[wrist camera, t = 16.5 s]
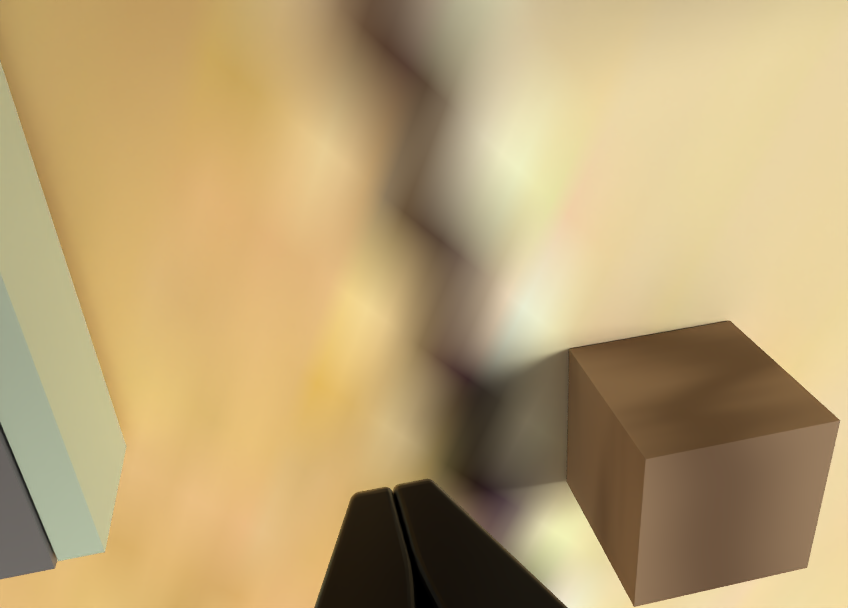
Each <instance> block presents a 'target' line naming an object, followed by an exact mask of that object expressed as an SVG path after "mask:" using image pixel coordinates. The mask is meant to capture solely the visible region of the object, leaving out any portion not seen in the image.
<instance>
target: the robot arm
mask: <svg viewBox="0 0 848 608" xmlns="http://www.w3.org/2000/svg"><path fill="white" fill-rule="evenodd" d="M314 608H567V607H566V606H565V605H564V604H563V603H562V602H561V601H560V600H559V599H558V598H557V597H556V596H555V595H554V594H553V593H552V592H551V591H549V590H548V589H547V588H546V587H545V586H544V585H543V584H542V583H541V582H540V581H539V580H538V579H537V578H536V577H535V576H534V575H532V574H531V573H530V572H529V571H528V570H527V569H526V568H525V567H524V566H523V565H522V564H521V563H520V562H519V561H518V560H517V559H516V558H514V557H513V556H512V555H511V554H510V553H509V552H508V551H507V550H506V549H505V548H504V547H503V546H502V545H501V544H500V543H499V542H497V541H496V540H495V539H494V538H493V537H492V536H491V535H490V534H489V533H488V532H487V531H486V530H485V529H484V528H483V527H482V526H481V525H479V524H478V523H477V522H476V521H475V520H474V519H473V518H472V517H471V516H470V515H469V514H468V513H467V512H466V511H465V510H464V509H462V508H461V507H460V506H459V505H458V504H457V503H456V502H455V501H454V500H453V499H452V498H451V497H450V496H449V495H448V494H447V493H446V492H444V491H443V490H442V489H441V488H440V487H439V486H438V485H437V484H436V483H435V482H434V481H432V480H429V479H423V480H418V481H413V482H408V483H403V484H399V485H396V486H395V487H394V490H393V492H392V490H391V489H390V488H388V487H382V488H377V489H372V490H367V491H362V492H357V493H355V494H354V495H353V496H352V498H351V500H350V502H349V505H348V508H347V511H346V514H345V517H344V520H343V523H342V526H341V529H340V532H339V535H338V538H337V541H336V544H335V547H334V550H333V553H332V556H331V559H330V562H329V565H328V568H327V571H326V574H325V577H324V580H323V583H322V586H321V589H320V592H319V595H318V598H317V601H316V604H315V607H314Z"/></svg>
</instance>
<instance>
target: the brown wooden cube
mask: <svg viewBox="0 0 848 608" xmlns="http://www.w3.org/2000/svg"><path fill="white" fill-rule="evenodd" d="M839 423H840V420H839V419H838V418H837V417H836V416H835V415H834V414H832V413H831V412H830V411H829V410H828V409H827V408H826V407H825V406H824V405H822V404H821V403H820V402H819V401H818V400H817V399H816V398H815V397H814V396H813V395H811V394H810V393H809V392H808V391H807V390H806V389H805V388H804V387H803V386H801V385H800V384H799V383H798V382H797V381H796V380H795V379H794V378H793V377H792V376H790V375H789V374H788V373H787V372H786V371H785V370H784V369H783V368H782V367H780V366H779V365H778V364H777V363H776V362H775V361H774V360H773V359H772V358H771V357H769V356H768V355H767V354H766V353H765V352H764V351H763V350H762V349H761V348H760V347H758V346H757V345H756V344H755V343H754V342H753V341H752V340H751V339H750V338H748V337H747V336H746V335H745V334H744V333H743V332H742V331H741V330H740V329H739V328H737V327H736V326H735V325H734V324H733V323H732V322H731V321H726V322H720V323H715V324H709V325H703V326H698V327H692V328H686V329H681V330H675V331H669V332H664V333H658V334H652V335H647V336H641V337H635V338H630V339H624V340H618V341H613V342H607V343H601V344H596V345H590V346H584V347H579V348H573V349H569V388H568V447H567V483H568V485H569V487H570V489H571V490H572V492H573V494H574V496H575V498H576V500H577V502H578V503H579V505H580V507H581V509H582V511H583V513H584V515H585V516H586V518H587V520H588V522H589V524H590V526H591V528H592V529H593V531H594V533H595V535H596V537H597V539H598V541H599V542H600V544H601V546H602V548H603V550H604V552H605V554H606V555H607V557H608V559H609V561H610V563H611V565H612V567H613V568H614V570H615V572H616V574H617V576H618V578H619V580H620V581H621V583H622V585H623V587H624V589H625V591H626V593H627V594H628V596H629V598H630V600H631V602H632V604H633V606H634V607H635V606H640V605H644V604H649V603H653V602H657V601H662V600H666V599H671V598H675V597H680V596H684V595H688V594H693V593H697V592H702V591H706V590H710V589H715V588H719V587H724V586H728V585H733V584H737V583H741V582H746V581H750V580H755V579H759V578H763V577H768V576H772V575H777V574H781V573H785V572H790V571H794V570H799V569H803V568H807V566H808V561H809V557H810V552H811V548H812V543H813V539H814V534H815V530H816V526H817V521H818V517H819V512H820V508H821V503H822V499H823V494H824V490H825V486H826V481H827V477H828V472H829V468H830V463H831V459H832V454H833V450H834V446H835V441H836V437H837V432H838V428H839Z"/></svg>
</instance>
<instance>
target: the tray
mask: <svg viewBox="0 0 848 608" xmlns="http://www.w3.org/2000/svg"><path fill="white" fill-rule="evenodd" d="M0 423H1V425H2V427H3V430H4V432H5V435H6V437H7V439H8V442H9V444H10V447H11V449H12V451H13V454H14V456H15V459H16V461H17V463H18V466H19V468H20V471H21V473H22V475H23V478H24V480H25V483H26V485H27V487H28V490H29V492H30V495H31V497H32V499H33V502H34V504H35V507H36V509H37V511H38V514H39V516H40V519H41V521H42V523H43V526H44V528H45V530H46V533H47V535H48V538H49V540H50V542H51V545H52V547H53V550H54V552H55V554H56V557H57V559H58V561H61V560H66V559H71V558H77V557H82V556H87V555H92V554H97V553H102V552H105V549H106V544H107V539H108V534H109V529H110V525H111V520H112V515H113V510H114V505H115V500H116V495H117V490H118V485H119V481H120V476H121V471H122V466H123V461H124V456H125V451H126V444H125V441H124V438H123V435H122V432H121V428H120V425H119V422H118V419H117V416H116V413H115V410H114V407H113V404H112V401H111V398H110V395H109V392H108V389H107V386H106V383H105V380H104V377H103V373H102V370H101V367H100V364H99V361H98V358H97V355H96V352H95V349H94V346H93V343H92V340H91V337H90V334H89V331H88V328H87V325H86V321H85V318H84V315H83V312H82V309H81V306H80V303H79V300H78V297H77V294H76V291H75V288H74V285H73V282H72V279H71V276H70V273H69V269H68V266H67V263H66V260H65V257H64V254H63V251H62V248H61V245H60V242H59V239H58V236H57V233H56V230H55V227H54V224H53V221H52V217H51V214H50V211H49V208H48V205H47V202H46V199H45V196H44V193H43V190H42V187H41V184H40V181H39V178H38V175H37V172H36V169H35V165H34V162H33V159H32V156H31V153H30V150H29V147H28V144H27V141H26V138H25V135H24V132H23V129H22V126H21V123H20V120H19V117H18V113H17V110H16V107H15V104H14V101H13V98H12V95H11V92H10V89H9V86H8V83H7V80H6V77H5V74H4V71H3V68H2V65H1V61H0Z"/></svg>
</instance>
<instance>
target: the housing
mask: <svg viewBox="0 0 848 608" xmlns="http://www.w3.org/2000/svg"><path fill="white" fill-rule="evenodd" d="M56 563H57V557H56V554H55V552H54V550H53V547H52V545H51V542H50V540H49V538H48V535H47V533H46V530H45V528H44V526H43V523H42V521H41V519H40V516H39V514H38V511H37V509H36V507H35V504H34V502H33V499H32V497H31V495H30V492H29V490H28V487H27V485H26V483H25V480H24V478H23V475H22V473H21V471H20V468H19V466H18V463H17V461H16V459H15V456H14V454H13V451H12V449H11V447H10V444H9V442H8V439H7V437H6V435H5V432H4V430H3V427H2V425H1V423H0V579H4V578H9V577H14V576H19V575H24V574H29V573H34V572H39V571H45V570H50V569H55V566H56Z"/></svg>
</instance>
